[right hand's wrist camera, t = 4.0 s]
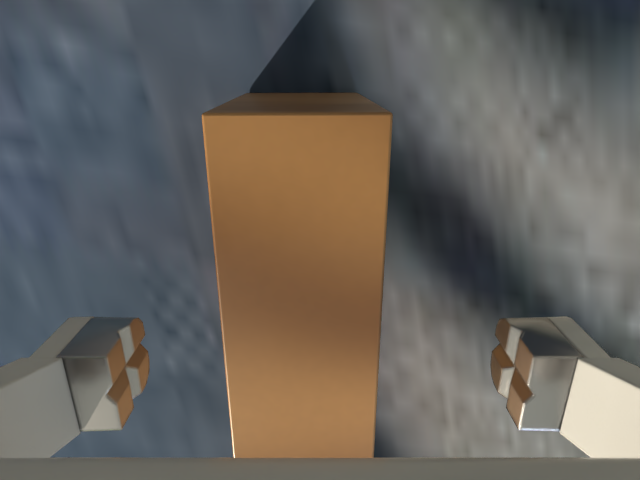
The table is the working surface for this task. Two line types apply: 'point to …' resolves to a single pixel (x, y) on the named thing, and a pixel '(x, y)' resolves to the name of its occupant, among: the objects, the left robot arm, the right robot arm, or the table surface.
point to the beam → (300, 268)
